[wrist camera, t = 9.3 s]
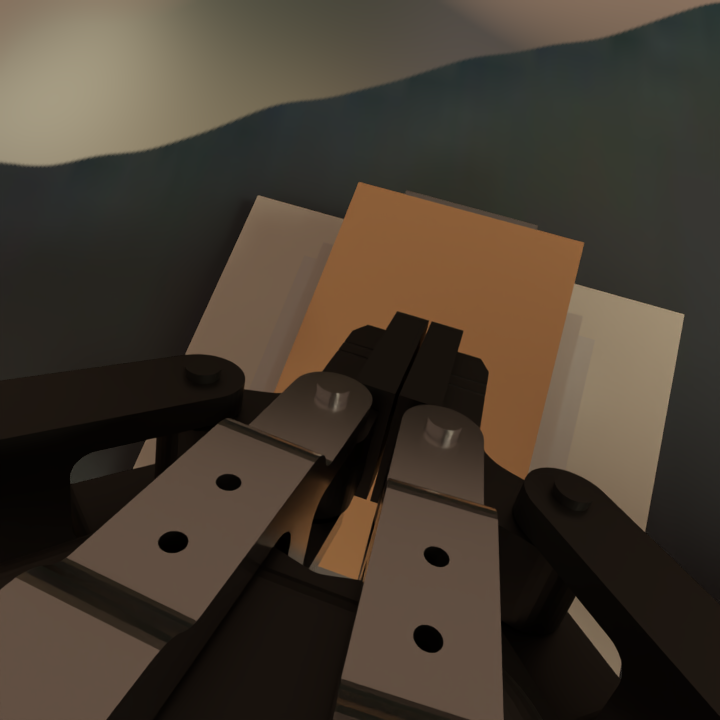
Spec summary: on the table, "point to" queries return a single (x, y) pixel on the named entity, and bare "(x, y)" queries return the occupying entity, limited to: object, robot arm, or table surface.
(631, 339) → the heatsink board
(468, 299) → the brown flat panel
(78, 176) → the table surface
